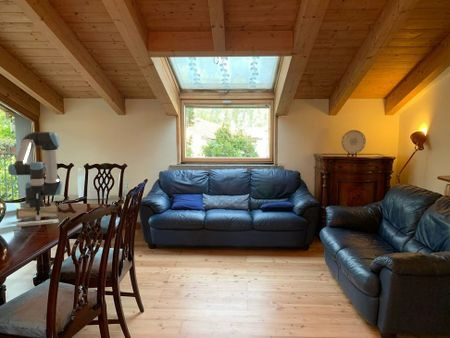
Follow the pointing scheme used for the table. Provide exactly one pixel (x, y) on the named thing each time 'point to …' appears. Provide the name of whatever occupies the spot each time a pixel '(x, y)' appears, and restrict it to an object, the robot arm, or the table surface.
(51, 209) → the rail
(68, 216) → the table surface
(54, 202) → the post far
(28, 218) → the post near
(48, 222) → the mat
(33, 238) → the table surface
